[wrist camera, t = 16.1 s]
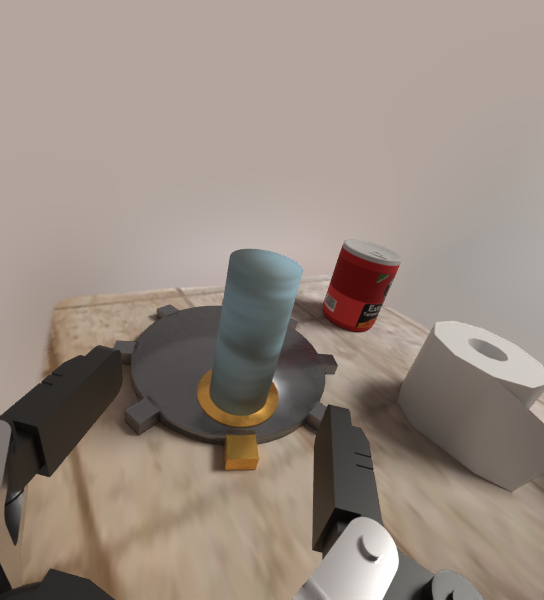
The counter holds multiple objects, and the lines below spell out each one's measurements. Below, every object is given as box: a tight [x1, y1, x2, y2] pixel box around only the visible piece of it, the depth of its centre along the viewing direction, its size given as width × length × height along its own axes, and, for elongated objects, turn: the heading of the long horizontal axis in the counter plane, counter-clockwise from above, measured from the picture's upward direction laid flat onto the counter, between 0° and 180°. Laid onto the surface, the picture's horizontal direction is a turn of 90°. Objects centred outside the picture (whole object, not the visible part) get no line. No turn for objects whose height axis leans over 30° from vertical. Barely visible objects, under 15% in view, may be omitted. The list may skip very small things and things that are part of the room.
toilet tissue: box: [397, 321, 544, 492], centre depth 28 cm, size 9×13×9 cm
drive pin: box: [209, 249, 303, 416], centre depth 23 cm, size 5×5×12 cm
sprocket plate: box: [113, 301, 338, 470], centre depth 31 cm, size 21×22×2 cm
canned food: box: [323, 239, 401, 332], centre depth 43 cm, size 8×8×11 cm
